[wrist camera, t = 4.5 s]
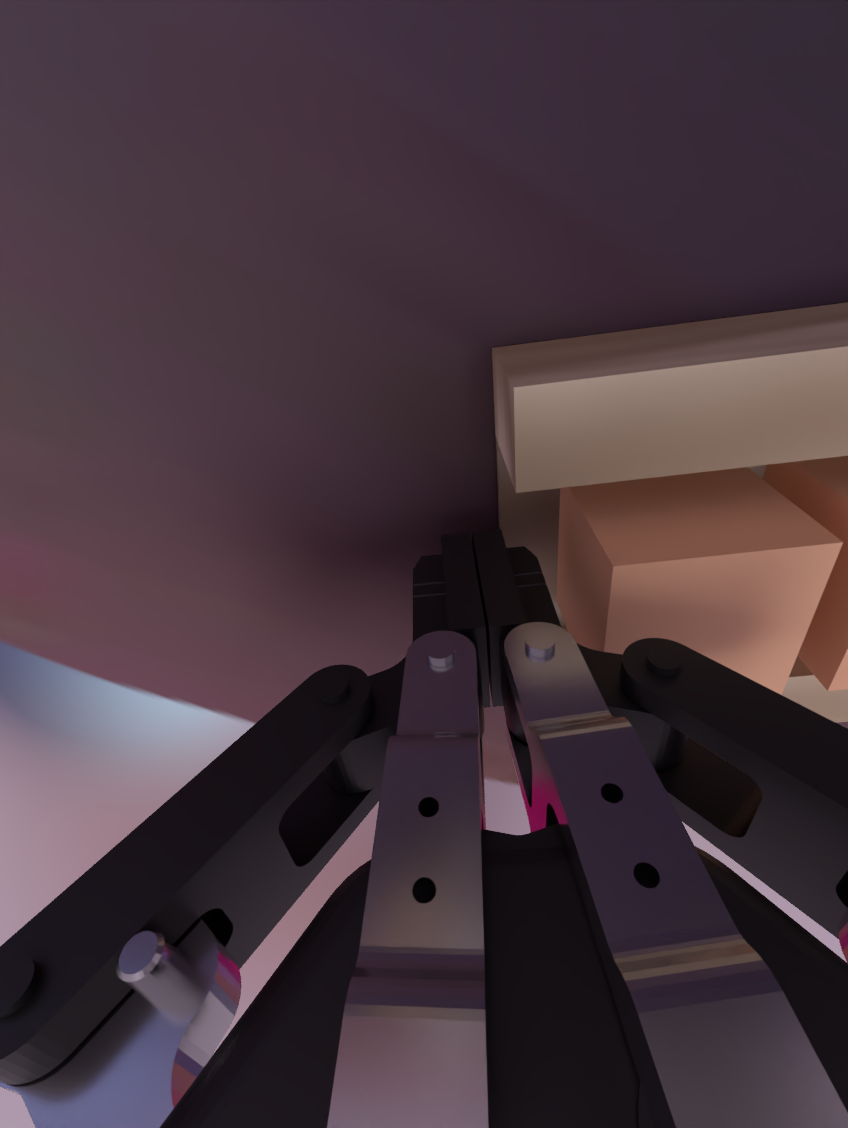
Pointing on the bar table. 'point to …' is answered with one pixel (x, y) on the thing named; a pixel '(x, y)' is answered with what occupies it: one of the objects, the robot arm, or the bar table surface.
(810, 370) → the slot track
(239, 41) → the bar table surface
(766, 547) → the pink cube
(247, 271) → the bar table surface
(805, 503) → the salmon cube
